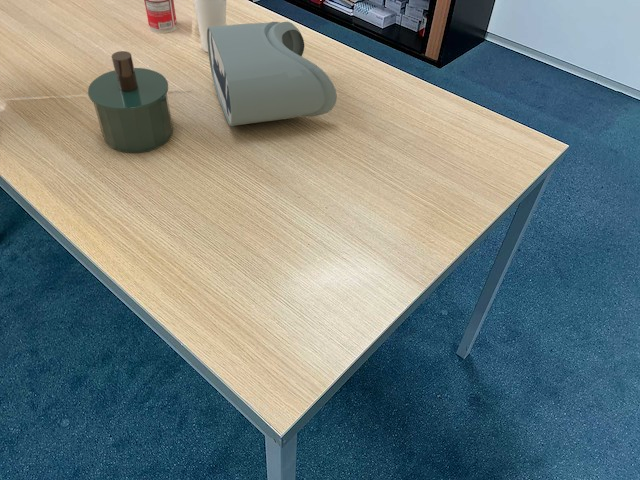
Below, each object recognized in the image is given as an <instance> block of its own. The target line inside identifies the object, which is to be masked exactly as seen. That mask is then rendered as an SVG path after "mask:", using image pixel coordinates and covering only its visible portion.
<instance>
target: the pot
mask: <svg viewBox="0 0 640 480" xmlns="http://www.w3.org/2000/svg"><path fill="white" fill-rule="evenodd" d="M93 107H94V110H95V114H96V117H97V120H98V123H99V127H100V131H101V134H102V137H103V139H104V142H105V144H106V145H108V147H109V148H111V149H113V150H115V151H118V152H121V153H126V154H140V153H147V152H151V151H154V150H157V149H158V148H161V147H162V146H164V145H165V144H166V143H167V142H168V141H170V139H171V138H172V136H173V132H174V131H173V130H174V129H173V121H172V114H171V110H170V103H169V98H168V93H167V94H166V95H165V96H164V97H163V99H161V100H160V101H159V102H157V103H155V104H153V105H151V106H148V107H145V108H142V109H137V110H131V111H115V110H109V109H105V108H102V107H99V106H97V105H96V104H94V103H93Z"/></svg>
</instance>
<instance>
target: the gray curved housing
mask: <svg viewBox="0 0 640 480" xmlns="http://www.w3.org/2000/svg"><path fill="white" fill-rule="evenodd" d="M207 42H208V53H207V54H208V59H209V66H210V71H211V76H212V81H213V84H214V88H215V92H216V94H217V97H218V101H219V103H220V106H221V109H222V112H223V114H224V116H225V119H226V122H227V123H228V125H229V127H236V126H241V125H249V124H256V123H264V122H272V121H273V122H274V121H278V120H279V121H281V120H287V119H293V118H299V117H305V118H307V117H318V116H322V115H325V114H328V113H329V112H331V111H332V109H333V108H334V107H335V106H336V103H337V100H338V99H337V97H338V95H337V89H336V87H335V85H334V83H333V81H332V79H331V78H330V77H329V75H328V74H327V73H326V72H325V71H324V70H323V69H322V68H321V67H319V66H318V65H317V64H315V63H314V62H312V61H311V60H309V59H308V58H305V57H303V54H304V51H305V40H304V37H303V35H302V33H301V31H300V29H299V28H298V27H297V26H296V25H294V24H293V23H292V22H290V21H282V22H280V21H270V22H254V23H253V22H252V23H238V24H228V25H227V24H226V26H215V27H208V29H207Z"/></svg>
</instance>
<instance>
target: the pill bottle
mask: <svg viewBox="0 0 640 480" xmlns="http://www.w3.org/2000/svg"><path fill="white" fill-rule="evenodd" d="M143 1H144V7H145V11H146V18H147V22H148V28H149V30H150V31H151V32H153V33H157V34H168V33H173V32H174V31H176V30H177V28H178V21H177V14H176V8H175V1H174V0H143Z"/></svg>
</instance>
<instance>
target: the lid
mask: <svg viewBox="0 0 640 480" xmlns="http://www.w3.org/2000/svg"><path fill="white" fill-rule="evenodd" d="M111 61H112V65H113V69H114V70H110V71H108V72H105V73H102V74H101V75H99V76H97V77H96V78H95V79H94V80H92V82H91V83H90V84H89V86H88V88H87V95H88V98H89V100H90V101H91V102H92V103H93V105H94V104H96V105H97V106H99V107H102V108H105V109H109V110H115V111H131V110H137V109H142V108H145V107H148V106H151V105H153V104H155V103H157V102H159V101H160V100H161V99H163V97H164V96H165V95H166V94H167V95H168V92H169V82H168V80H167V79H166V77H165V75H163V74H161V73H160V72H157V71H155V70H153V69H150V68H149V69H148V68H145V67H144V68H142V67H135V66H134V65H135V64H134V60H133V55H132V53H131V52H130V51H126V50H120V51H116V52H113V53H112V54H111Z"/></svg>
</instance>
